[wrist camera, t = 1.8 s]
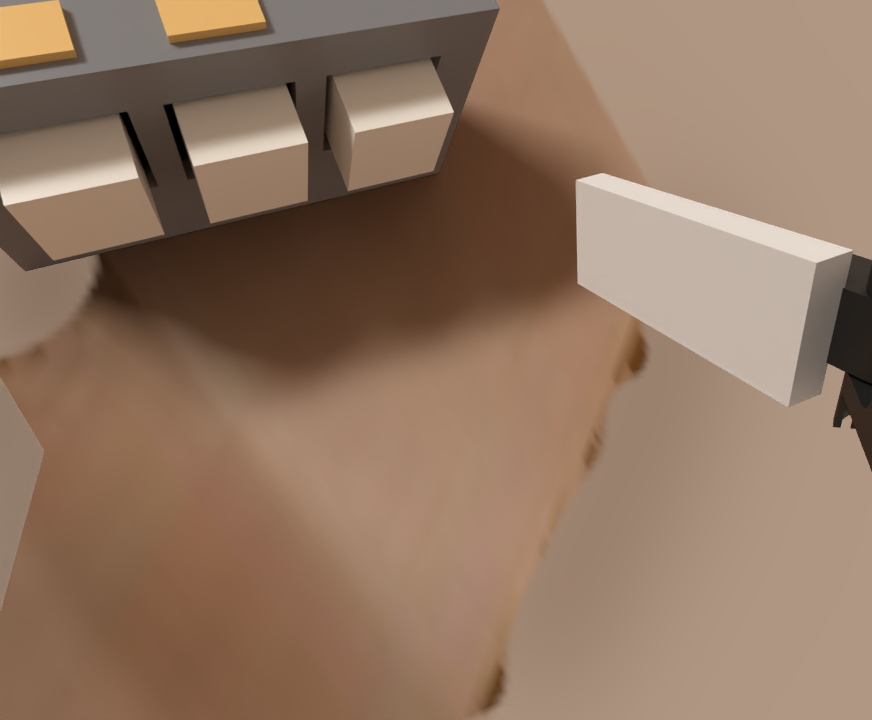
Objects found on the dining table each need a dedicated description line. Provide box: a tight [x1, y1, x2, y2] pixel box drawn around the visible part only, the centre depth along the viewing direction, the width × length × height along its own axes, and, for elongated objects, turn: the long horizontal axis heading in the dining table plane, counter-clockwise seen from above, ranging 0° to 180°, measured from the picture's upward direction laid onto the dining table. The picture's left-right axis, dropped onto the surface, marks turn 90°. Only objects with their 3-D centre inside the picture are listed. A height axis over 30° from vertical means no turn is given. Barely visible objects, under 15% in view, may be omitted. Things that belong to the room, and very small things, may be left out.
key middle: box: [172, 83, 308, 223], centre depth 30 cm, size 4×5×5 cm
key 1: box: [0, 113, 164, 261], centre depth 28 cm, size 4×5×5 cm
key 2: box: [324, 58, 454, 191], centre depth 33 cm, size 4×5×5 cm
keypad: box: [0, 0, 500, 271], centre depth 33 cm, size 8×26×14 cm, turn 112°
